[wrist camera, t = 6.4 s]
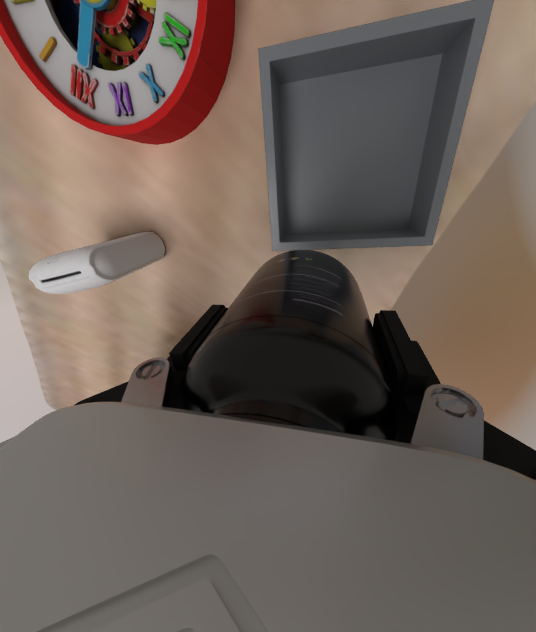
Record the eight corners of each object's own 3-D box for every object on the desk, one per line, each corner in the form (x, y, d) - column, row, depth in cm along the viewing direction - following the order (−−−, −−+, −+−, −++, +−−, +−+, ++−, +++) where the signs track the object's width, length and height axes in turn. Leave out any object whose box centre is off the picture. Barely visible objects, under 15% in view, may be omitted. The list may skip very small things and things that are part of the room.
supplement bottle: (358, 345, 15) (421, 676, 5) (259, 344, 17) (160, 588, 7) (364, 238, 12) (576, 576, 2) (240, 250, 14) (-3, 455, 4)
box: (412, 234, 26) (432, 245, 21) (280, 240, 29) (272, 250, 24) (452, 42, 19) (495, -5, 14) (271, 77, 22) (258, 48, 17)
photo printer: (116, 270, 36) (33, 305, 26) (101, 242, 34) (5, 268, 24) (171, 258, 33) (102, 291, 23) (158, 227, 32) (76, 248, 21)
